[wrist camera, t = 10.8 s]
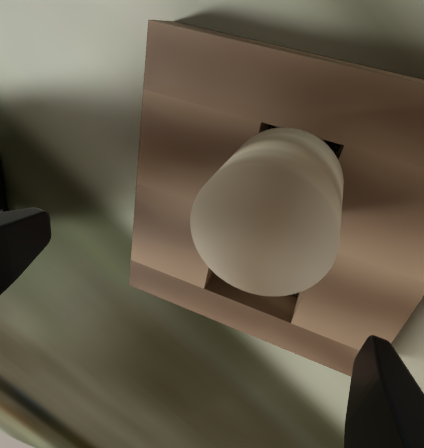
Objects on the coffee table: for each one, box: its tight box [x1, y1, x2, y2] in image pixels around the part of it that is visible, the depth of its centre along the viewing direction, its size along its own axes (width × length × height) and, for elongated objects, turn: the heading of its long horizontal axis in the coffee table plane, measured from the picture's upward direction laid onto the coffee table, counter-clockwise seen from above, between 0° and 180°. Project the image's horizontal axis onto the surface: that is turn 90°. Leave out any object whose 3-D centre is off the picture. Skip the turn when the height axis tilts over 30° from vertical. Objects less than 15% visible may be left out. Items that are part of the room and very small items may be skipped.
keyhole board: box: [129, 20, 424, 377], centre depth 19 cm, size 16×16×2 cm
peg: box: [190, 127, 344, 296], centre depth 15 cm, size 5×5×9 cm
